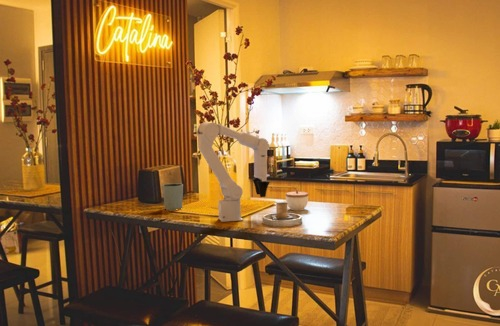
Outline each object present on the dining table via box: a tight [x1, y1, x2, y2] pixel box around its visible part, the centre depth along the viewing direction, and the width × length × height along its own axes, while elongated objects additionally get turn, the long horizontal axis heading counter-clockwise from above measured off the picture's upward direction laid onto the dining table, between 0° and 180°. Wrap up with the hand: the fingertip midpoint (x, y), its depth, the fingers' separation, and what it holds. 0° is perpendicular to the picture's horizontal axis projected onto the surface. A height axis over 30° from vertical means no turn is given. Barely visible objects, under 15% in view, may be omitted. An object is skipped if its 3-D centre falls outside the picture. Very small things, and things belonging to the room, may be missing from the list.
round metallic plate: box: [261, 212, 303, 228], centre depth 215 cm, size 16×16×2 cm
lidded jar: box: [285, 189, 309, 212], centre depth 243 cm, size 11×11×9 cm
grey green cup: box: [161, 182, 184, 211], centre depth 250 cm, size 10×10×12 cm
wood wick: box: [275, 201, 288, 218], centre depth 214 cm, size 4×2×8 cm, turn 103°
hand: (260, 195), depth 227 cm, fingers open, 7 cm apart
